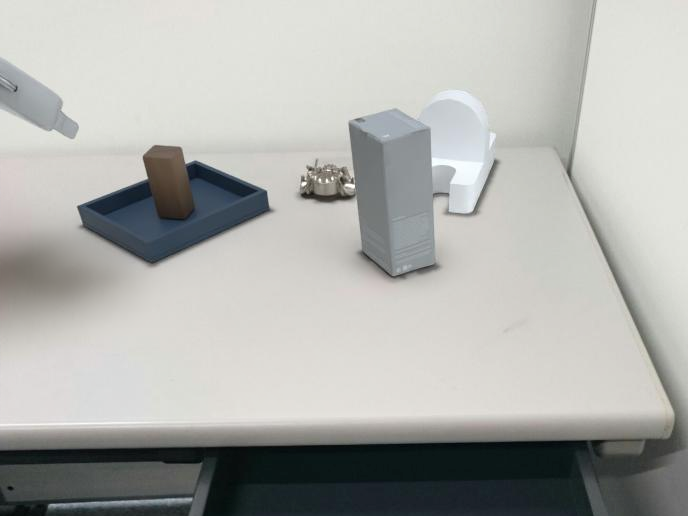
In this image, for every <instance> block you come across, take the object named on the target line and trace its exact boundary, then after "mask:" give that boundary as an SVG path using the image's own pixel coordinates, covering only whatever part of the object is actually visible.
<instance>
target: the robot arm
mask: <svg viewBox="0 0 688 516" xmlns="http://www.w3.org/2000/svg"><path fill="white" fill-rule="evenodd" d="M63 106H64V100H63V99H62V97H60V95H58V93H56V91H54V90H52V89H51V88H49V87H48V86H46V85H45V84H44V83H42V82H41V81H39V80H38V79H36V78H35V77H33V76H31V75H30V74H29V73H27V72H25V71H24V70H22V69H21V68H19V67H17V66H16V65H15V64H13V63H12V62H10V61H8V59H7V60H6V59H5V58H3V57H2V56H0V109H1V110H3V111H4V112H7V113H9V114H11V115H12V116H15V117H17V118H19V119H20V120H23V121H25V122H27V123H28V124H31V125H33V126H34V127H37V128H39V129H41V130H43V131H46V132H52V131H53V130H54V131H56V132H57V133H59V134H61V135H62V136H64V137H65V138H68V139H69V140H73V139H75V138H76V137H77V134H78V131H79V129H80V128H79V127H80V126H79V123H78V122H77V121H75V120H73V118H71V117H69V116H68V115H66V114H65V112H63Z"/></svg>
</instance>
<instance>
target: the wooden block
mask: <svg viewBox="0 0 688 516" xmlns="http://www.w3.org/2000/svg"><path fill="white" fill-rule="evenodd" d="M142 161H143V166H144V169H145V172H146V178H147V179H148V181H149V184H150V188H151V192H152V196H153V200H154V203H155V207H156V211H157V215H158V217H160V218H170V219H182V220H183V219H186V218H187V216H188V215H189V214H190V213H191V212H192V210H193V209H194V207H195V204H194V200H193V195H192V191H191V187H190V182H189V178H188V173H187V169H186V164H187V163H186V160H185V156H184V152H183V148H182V147H181V146H178V145H177V146H175V145H161V144H154V145H152V146H151V147H150V148H149V149H148V150H147V151H146V152H145V153H144V154H143V155H142Z"/></svg>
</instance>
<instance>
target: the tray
mask: <svg viewBox="0 0 688 516" xmlns="http://www.w3.org/2000/svg"><path fill="white" fill-rule="evenodd" d="M185 164H186V169H187V173H188V178H189V182H190V187H191V191H192V195H193V200H194V204H195V207H194V209H193V210H192V212H191V213H190V214H189V215H188V216H187V218H186V219H183V220H182V219H170V218H160V217H158V215H157V211H156V207H155V203H154V200H153V196H152V192H151V188H150V184H149V181H148V178H146V179H143V180H141V181H138V182H136V183H132V184H131V185H128V186H125V187H123V188H119V189H118V190H115V191H112V192H109V193H107V194H105V195H102V196H99V197H97V198H93V199H92V200H89V201H87V202H83V203H82V204H79V205H76V208H77V211H78V215H79V217H80V220H81V224H82V226H84V227H86V228H87V229H89V230H91V231H93V232H94V233H96V234H98V235H100V236H102V237H104V238H106V239H107V240H109V241H110V242H113V243H114V244H116V245H119V246H120V247H122V248H124V249H125V250H127V251H129V252H131V253H133V254H135V255H136V256H138V257H140V258H142V259H144V260H146V261H147V262H149V263H151V264H154V263H155V262H158V261H160V260H163V259H164V258H167V257H169V256H171V255H173V254H176V253H177V252H180V251H182V250H184V249H186V248H188V247H190V246H193V245H195V244H197V243H200V242H202V241H204V240H206V239H208V238H211V237H213V236H215V235H217V234H219V233H221V232H224V231H226V230H228V229H230V228H232V227H235V226H237V225H239V224H241V223H244V222H245V221H248V220H250V219H252V218H255V217H256V216H259V215H261V214H264V213H265V212H268V211H270V209H271V208H270V202H269V196H268V195H269V194H268V190H266V189H264V188H262V187H259V186H258V185H254V184H252V183H250V182H248V181H246V180H243V179H242V178H238V177H237V176H235V175H231V174H229V173H227V172H224V171H222V170H220V169H218V168H215V167H212V166H210V165H208V164H206V163H204V162H201V161H198V160H196V159H195V160H193V161H190V162H188V163H185Z"/></svg>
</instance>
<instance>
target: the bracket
mask: <svg viewBox="0 0 688 516" xmlns="http://www.w3.org/2000/svg"><path fill="white" fill-rule="evenodd" d="M416 120H417V121H419V122H421V123H423V124H424V125H426V126H428V127H430V128H431V157H432V184H433V195H434V194H440V193H441V194H448V195H449V197H448V213H454V214H455V213H456V214H471V213H473V211H474V209H475V207H476V205H477V203H478V200H479V198H480V195H481V193H482V191H483V188H484V186H485V184H486V182H487V179H488V177H489V174H490V172H491V170H492V167H493V165H494V162H495V154H496V153H495V151H496V140H497V134H496V133H495V132H493V131H490V130H491V127H490V125H491V123H490V120H489V116H488V113H487V111H486V109H485V108H484V106H483V104H482V103H481V101H480V100H478V98H476V97H475V96H474V95H473V94H472V93H471V94H470V93H469V92H467V91H465V90H460V89H446V90H443V91H441V92H438V93H437V94H435V95H434V96H433V97H431V99H429V100H428V102H427V103H426V105H425V106H424V108H423V109H422V111H421V112H420V114H419V115H418V117H417V118H416Z"/></svg>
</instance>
